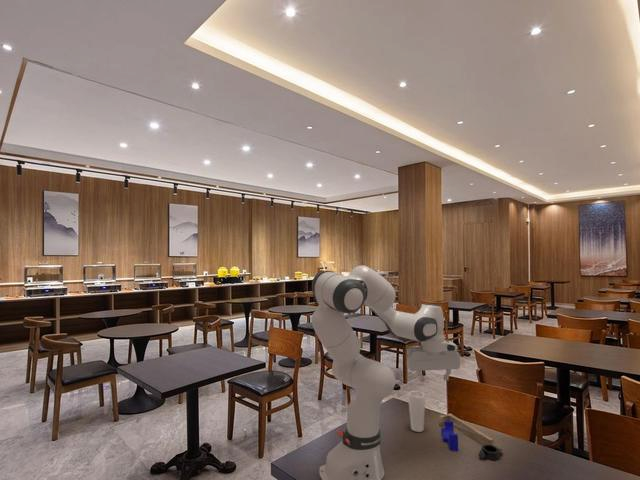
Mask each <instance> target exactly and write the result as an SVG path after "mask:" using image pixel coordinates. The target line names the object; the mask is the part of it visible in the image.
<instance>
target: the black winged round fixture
mask: <svg viewBox="0 0 640 480" xmlns="http://www.w3.org/2000/svg"><path fill="white" fill-rule="evenodd" d="M502 451H503V449H502V448H498V447H497V446H495V445H494V446H492V445H483V446H482V445H481V449H480V451H479V453H478V457H479V458H480V459H482V460H483V459H486V460H488V461H491V462H492V461H493V462H496V461H499V460H500V452H502Z"/></svg>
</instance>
